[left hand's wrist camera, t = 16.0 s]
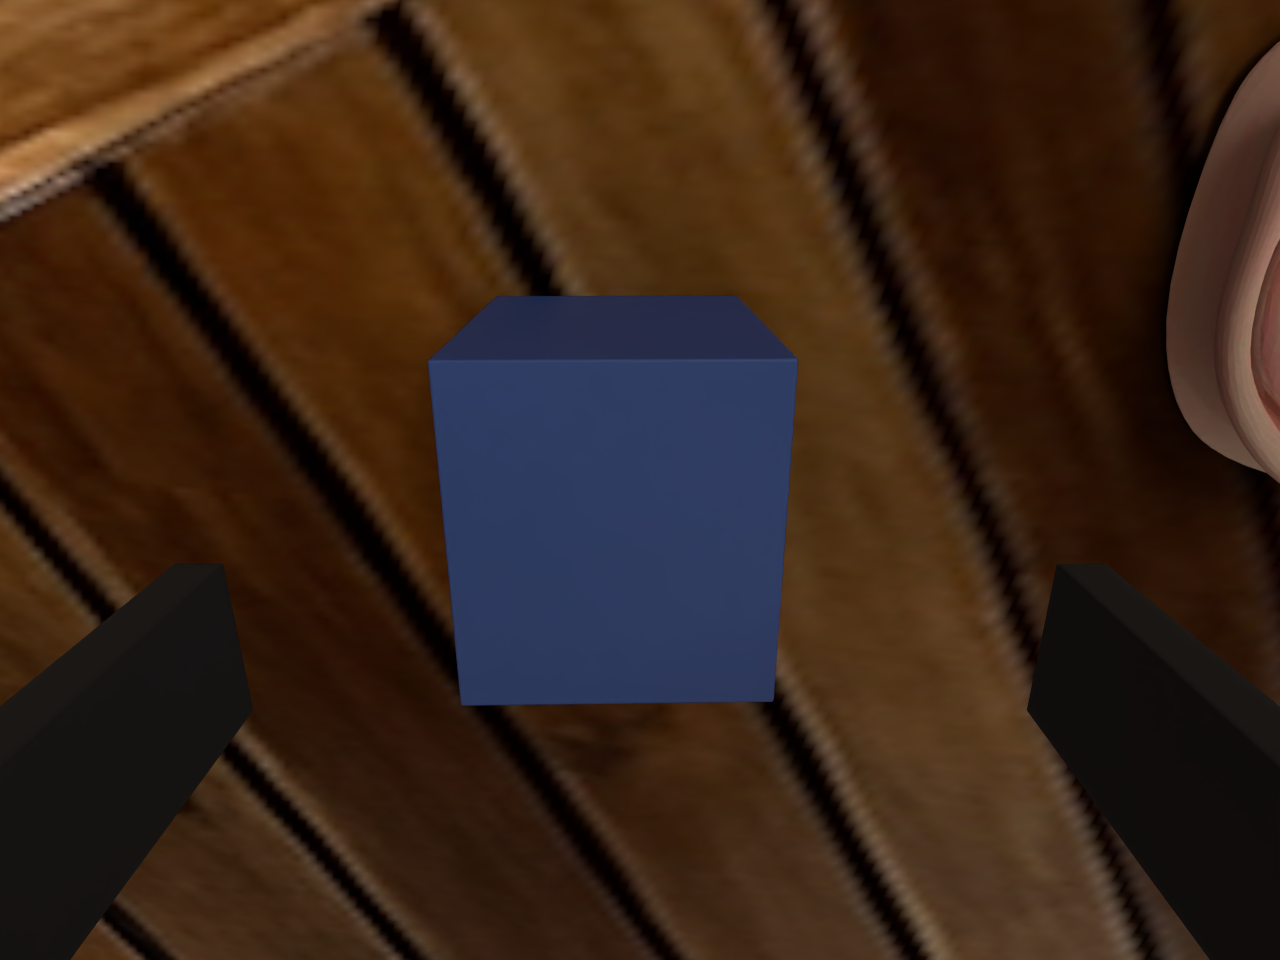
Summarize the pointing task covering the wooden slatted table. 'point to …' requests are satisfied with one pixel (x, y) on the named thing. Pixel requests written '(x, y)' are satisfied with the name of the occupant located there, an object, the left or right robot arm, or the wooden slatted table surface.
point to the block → (614, 498)
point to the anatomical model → (1233, 283)
